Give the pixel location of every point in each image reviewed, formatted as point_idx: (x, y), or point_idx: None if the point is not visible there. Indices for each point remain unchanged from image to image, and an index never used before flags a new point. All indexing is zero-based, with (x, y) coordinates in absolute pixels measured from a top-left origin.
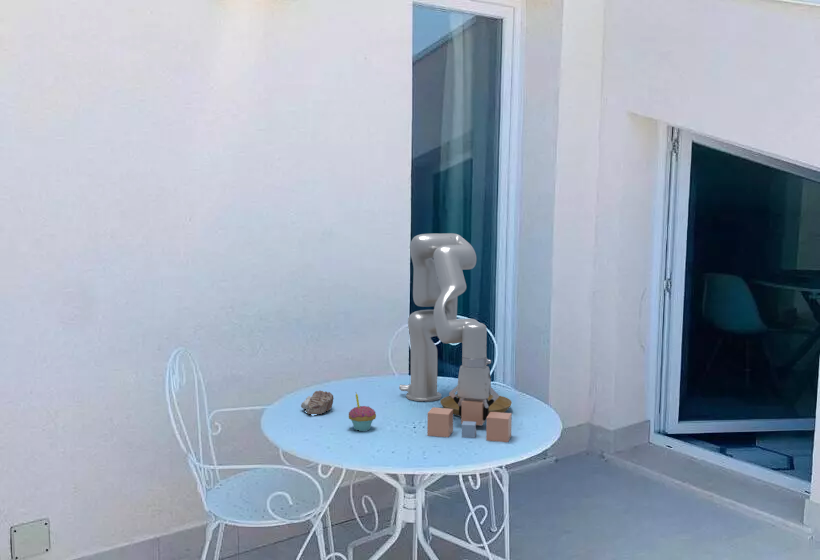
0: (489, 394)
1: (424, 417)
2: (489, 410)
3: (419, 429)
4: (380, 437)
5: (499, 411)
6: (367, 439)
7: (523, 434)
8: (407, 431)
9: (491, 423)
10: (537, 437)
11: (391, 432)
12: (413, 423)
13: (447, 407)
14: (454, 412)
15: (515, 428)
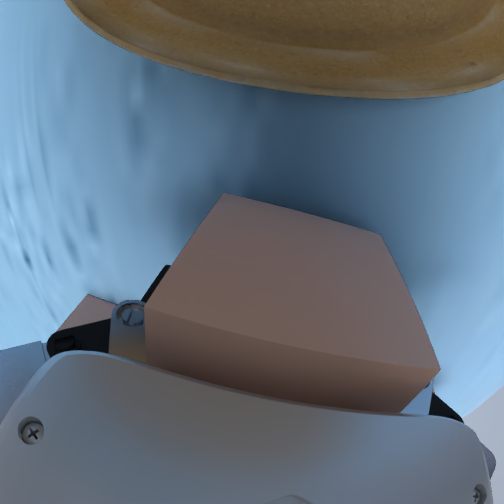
0: (473, 431)
1: (17, 103)
2: (446, 94)
3: (50, 288)
4: (15, 339)
5: (501, 62)
6: (7, 345)
7: (477, 354)
8: (33, 304)
9: None
10: (495, 373)
11: (10, 307)
12: (8, 209)
13: (75, 11)
14: (136, 28)
15: (493, 286)
